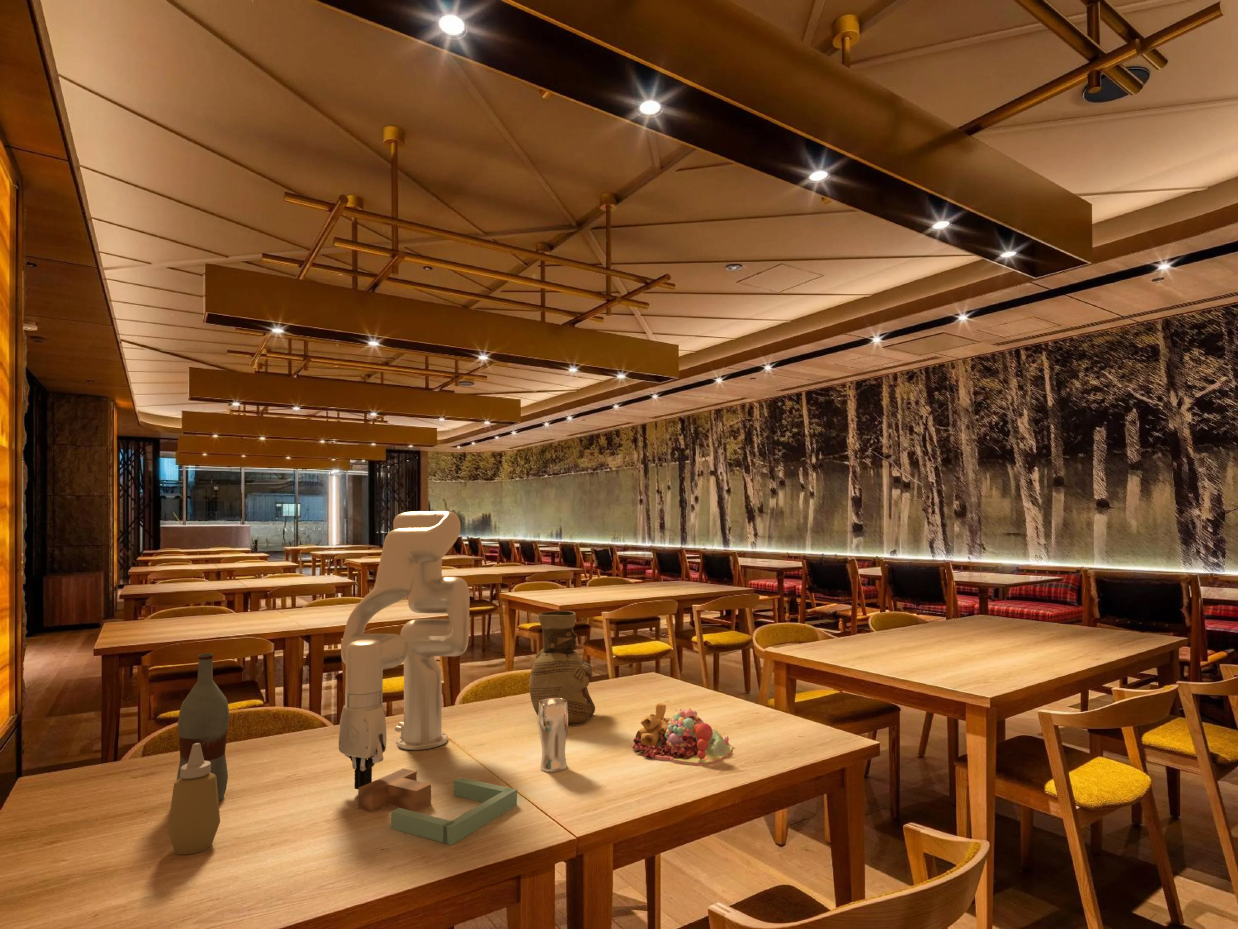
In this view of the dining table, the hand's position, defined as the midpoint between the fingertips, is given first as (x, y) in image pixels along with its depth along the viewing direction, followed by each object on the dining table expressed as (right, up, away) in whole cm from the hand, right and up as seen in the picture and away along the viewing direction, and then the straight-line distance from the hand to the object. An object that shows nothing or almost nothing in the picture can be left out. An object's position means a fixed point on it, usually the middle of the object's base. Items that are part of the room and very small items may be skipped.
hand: (363, 787), depth 146 cm
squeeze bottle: (-21, 0, -24) cm, 32 cm away
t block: (+10, -1, -6) cm, 12 cm away
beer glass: (+39, -2, +13) cm, 41 cm away
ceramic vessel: (+38, -5, +52) cm, 65 cm away
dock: (+23, 0, -12) cm, 26 cm away
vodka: (-33, -2, -3) cm, 33 cm away
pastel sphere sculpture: (+70, -2, +25) cm, 75 cm away
